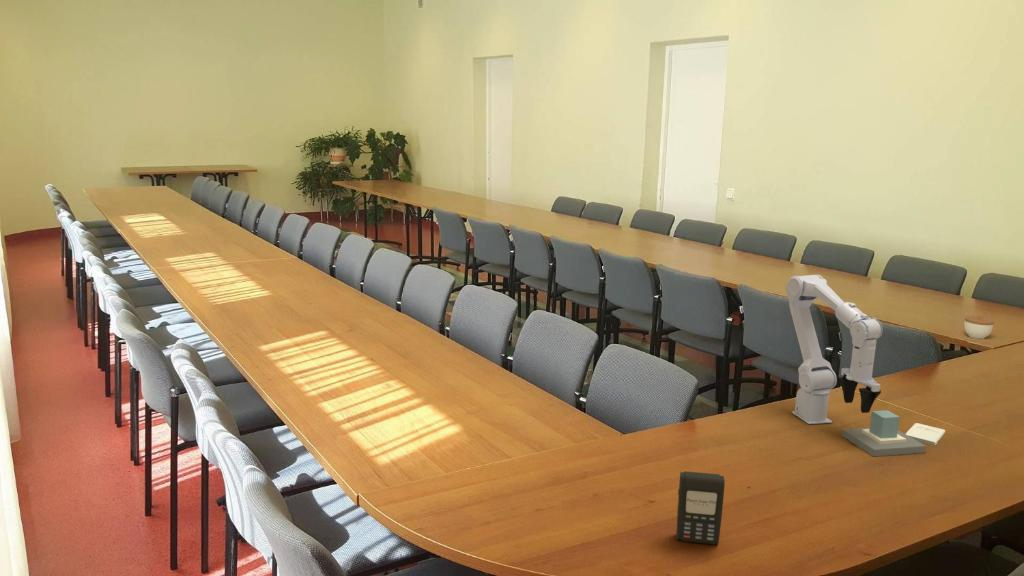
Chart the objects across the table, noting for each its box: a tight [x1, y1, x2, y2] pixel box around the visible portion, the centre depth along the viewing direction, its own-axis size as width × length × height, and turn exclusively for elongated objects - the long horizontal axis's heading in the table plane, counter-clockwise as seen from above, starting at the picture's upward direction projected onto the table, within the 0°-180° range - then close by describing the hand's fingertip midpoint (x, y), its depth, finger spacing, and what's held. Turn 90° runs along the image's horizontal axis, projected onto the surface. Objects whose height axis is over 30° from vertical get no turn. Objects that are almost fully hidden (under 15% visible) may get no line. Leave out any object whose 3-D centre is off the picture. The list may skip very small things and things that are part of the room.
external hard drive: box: [905, 422, 946, 446], centre depth 226 cm, size 2×8×12 cm
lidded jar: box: [964, 314, 995, 340], centre depth 332 cm, size 11×11×9 cm
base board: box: [841, 427, 927, 457], centre depth 218 cm, size 14×16×3 cm
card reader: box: [676, 471, 726, 545], centre depth 165 cm, size 9×4×15 cm, turn 81°
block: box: [869, 410, 901, 438], centre depth 217 cm, size 5×5×6 cm
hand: (856, 407), depth 220 cm, fingers open, 7 cm apart
